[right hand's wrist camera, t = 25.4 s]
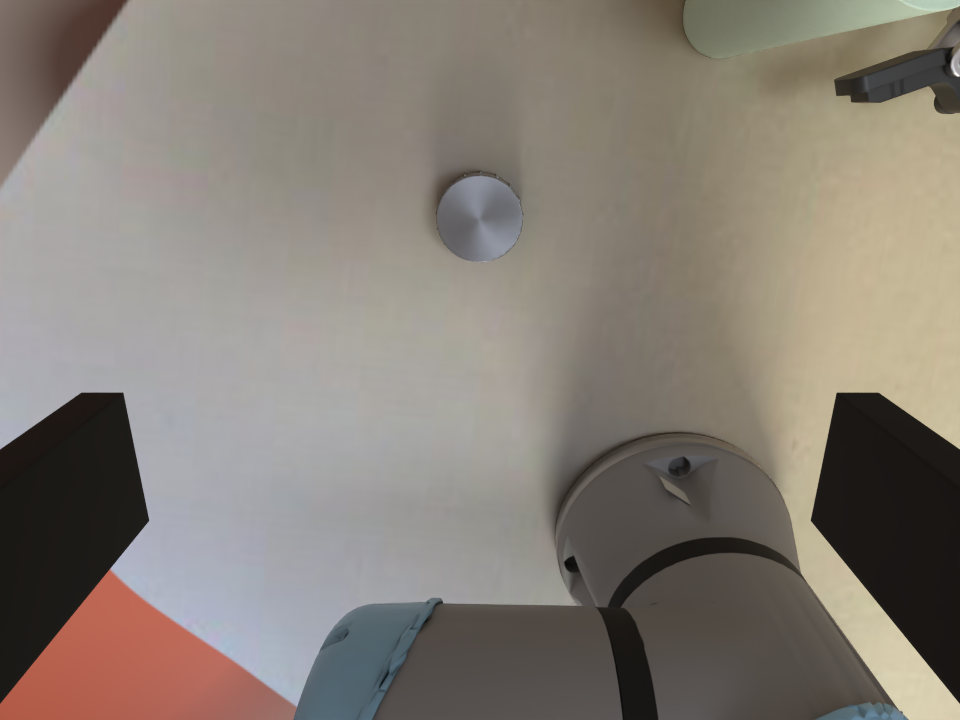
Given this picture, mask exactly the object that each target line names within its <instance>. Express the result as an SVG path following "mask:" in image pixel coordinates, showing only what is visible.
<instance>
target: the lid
mask: <svg viewBox="0 0 960 720" xmlns="http://www.w3.org/2000/svg"><path fill="white" fill-rule="evenodd" d="M440 198H441V200H440V203H439V206H438V209H437V211H436V214H437V230H438V232H439V235H440V237H441V239H442V241H443V242H444V244H445V245H446V246H447V248H448V249H449V250H450V251H451V252H452V253H454V254H455V255H457V256H458V257H460V258H462V259H465V260H467V261H472V262H488V261H492V260H495V259H497V258H499V257H501V256H503V255H504V254H506V253H507V252H508V251H509V250H510V249H511V248H512V247H513V246H514V244H515V243H516V241H517V239H518V238H519V235H520V233H521V229H522V223H523V217H524V215H523V212H522V209H521V205H520V202H519V201H520V198H519V196H517V195H516V194H515V192H514V190H513V189H512V188H511V184H510V183H507V182H505V181H504V180H503V179H501V178H499V177H498V175H497V174H495V175H493V174H489V173H484V172H482V171H480V172H475V173H470V174H466V173H465V174H464V176H462V177H460V178H458V179H457V180H455V181H454V182H453V181H452V182H451V183H450V186H449V187H448V188H447V189H446V191H445V192H444V194H442V195H441V197H440Z"/></svg>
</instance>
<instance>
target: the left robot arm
mask: <svg viewBox="0 0 960 720" xmlns="http://www.w3.org/2000/svg"><path fill="white" fill-rule="evenodd" d="M947 21H948V23H947V25H946V26H945V28H944V29H943V30H942V31H941V32H940V34H939V35H938V36H937V37H936V39H935V40H934V41H933V42H932V43H931V45H930V46H929V47H928V48H927V50H922V51H914V52H910V53H907V54H905V55H902V56H899V57H896V58H893V59H890V60H888V61H885V62H882V63H879V64H876V65H873V66H871V67H868V68H865V69H862V70H859V71H856V72H854V73H851V74H848V75H845V76H842V77H840V78H837V79H835V80H834V82H835V89H836V96H845V95H850V96H851V102H855V103H881V102H884V101H887V100H889V99H892V98H895V97H898V96H901V95H903V94H907V93H910V92H913V91H915V90H918V89H921V88H924V87H927V86H929V87H931V89H932V90H933V92H934V93H935V95H936V97H935V99H934V107H935V109H936V111H937V112H939V113H941V114H954V113H960V6H959V7H956V8H954V9H953V10H952V11H951V13H950V14H949V16H948V17H947Z"/></svg>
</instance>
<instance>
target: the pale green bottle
mask: <svg viewBox="0 0 960 720" xmlns="http://www.w3.org/2000/svg"><path fill="white" fill-rule="evenodd" d="M959 6H960V0H686V1H685V5H684V10H683V26H684V31H685V34H686V36H687V38H688V40H689V42H690V43H691V45H692V46H693V47H694V48H695V49H696V50H697V51H698V52H700V53H701V54H703V55H705V56H708V57H711V58H718V59H721V58H728V57H733V56H737V55H742V54H746V53H751V52H756V51H760V50H765V49H769V48H774V47H779V46H783V45H788V44H792V43H797V42H802V41H806V40H811V39H815V38H820V37H825V36H829V35H834V34H838V33H843V32H848V31H852V30H857V29H861V28H866V27H870V26H875V25H880V24H884V23H889V22H893V21H898V20H903V19H907V18H912V17H916V16H921V15H926V14H930V13H935V12H939V11H944V10H948V9H953V8H956V7H959Z"/></svg>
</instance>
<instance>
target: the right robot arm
mask: <svg viewBox="0 0 960 720" xmlns="http://www.w3.org/2000/svg"><path fill="white" fill-rule="evenodd" d="M148 522H149V517H148V512H147V508H146V503H145V498H144V493H143V488H142V483H141V478H140V473H139V468H138V463H137V458H136V453H135V448H134V443H133V439H132V434H131V429H130V424H129V419H128V414H127V409H126V404H125V399H124V394H123V393H80V394H79V395H78V396H76V397H75V398H73V399H72V400H70V401H69V402H68V403H66V404H65V405H63V406H62V407H60V408H59V409H58V410H56V411H55V412H53V413H52V414H50V415H49V416H48V417H46V418H45V419H43V420H42V421H40V422H39V423H37V424H36V425H35V426H33V427H32V428H30V429H29V430H27V431H26V432H25V433H23V434H22V435H20V436H19V437H17V438H16V439H15V440H13V441H12V442H10V443H9V444H7V445H6V446H5V447H3V448H2V449H0V703H1V702H2V701H3V700H4V698H5V697H6V696H7V695H8V693H9V692H10V691H11V690H12V688H13V687H14V686H15V685H16V684H17V682H18V681H19V680H20V679H21V677H22V676H23V675H24V674H25V673H26V671H27V670H28V669H29V668H30V666H31V665H32V664H33V663H34V661H35V660H36V659H37V658H38V657H39V655H40V654H41V653H42V652H43V650H44V649H45V648H46V647H47V645H48V644H49V643H50V642H51V641H52V639H53V638H54V637H55V636H56V634H57V633H58V632H59V631H60V630H61V628H62V627H63V626H64V625H65V623H66V622H67V621H68V620H69V619H70V617H71V616H72V615H73V614H74V612H75V611H76V610H77V609H78V607H79V606H80V605H81V604H82V603H83V601H84V600H85V599H86V598H87V596H88V595H89V594H90V593H91V591H92V590H93V589H94V588H95V587H96V585H97V584H98V583H99V582H100V580H101V579H102V578H103V577H104V576H105V574H106V573H107V572H108V571H109V569H110V568H111V567H112V566H113V564H114V563H115V562H116V561H117V560H118V558H119V557H120V556H121V555H122V553H123V552H124V551H125V550H126V549H127V547H128V546H129V545H130V544H131V542H132V541H133V540H134V539H135V537H136V536H137V535H138V534H139V533H140V531H141V530H142V529H143V528H144V526H145V525H146V524H147V523H148ZM811 522H812V523H813V524H814V525H815V526H816V528H817V529H818V530H819V531H820V533H821V534H822V535H823V536H824V537H825V539H826V540H827V541H828V542H829V544H830V545H831V546H832V547H833V549H834V550H835V551H836V552H837V553H838V555H839V556H840V557H841V558H842V560H843V561H844V562H845V563H846V564H847V566H848V567H849V568H850V569H851V571H852V572H853V573H854V574H855V576H856V577H857V578H858V579H859V580H860V582H861V583H862V584H863V585H864V587H865V588H866V589H867V590H868V591H869V593H870V594H871V595H872V596H873V598H874V599H875V600H876V601H877V603H878V604H879V605H880V606H881V607H882V609H883V610H884V611H885V612H886V614H887V615H888V616H889V617H890V619H891V620H892V621H893V622H894V623H895V625H896V626H897V627H898V628H899V630H900V631H901V632H902V633H903V634H904V636H905V637H906V638H907V639H908V641H909V642H910V643H911V644H912V646H913V647H914V648H915V649H916V650H917V652H918V653H919V654H920V655H921V657H922V658H923V659H924V660H925V661H926V663H927V664H928V665H929V666H930V668H931V669H932V670H933V671H934V673H935V674H936V675H937V676H938V677H939V679H940V680H941V681H942V682H943V684H944V685H945V686H946V687H947V688H948V690H949V691H950V692H951V693H952V695H953V696H954V697H955V698H956V700H957V701H958V702H959V703H960V449H958V448H957V447H955V446H954V445H953V444H951V443H950V442H948V441H947V440H945V439H944V438H943V437H941V436H940V435H938V434H937V433H935V432H934V431H933V430H931V429H930V428H928V427H927V426H925V425H924V424H923V423H921V422H920V421H918V420H917V419H915V418H914V417H912V416H911V415H910V414H908V413H907V412H905V411H904V410H902V409H901V408H900V407H898V406H897V405H895V404H894V403H892V402H891V401H890V400H888V399H887V398H885V397H884V396H882V395H881V394H880V393H837V394H836V399H835V404H834V409H833V414H832V419H831V424H830V429H829V434H828V439H827V443H826V448H825V453H824V458H823V463H822V468H821V473H820V478H819V483H818V488H817V493H816V498H815V503H814V508H813V512H812V517H811ZM555 544H556V552H557V558H558V563H559V568H560V572H561V575H562V578H563V581H564V583H565V585H566V587H567V589H568V591H569V593H570V595H571V597H572V599H573V600H574V602H575V603H576V605H577V606H549V605H489V604H443V601H442V599H441V598H431V599H430V600H428V601H427V602H418V603H388V604H370V605H365V606H361V607H358V608H356V609H354V610H352V611H351V612H349V613H348V614H346V615H345V616H344V617H343V618H342V619H341V620H340V621H339V622H338V623H337V624H336V625H335V626H334V628H333V629H332V631H331V632H330V633H329V635H328V636H327V638H326V640H325V642H324V643H323V645H322V647H321V649H320V651H319V654H318V655H317V657H316V660H315V662H314V664H313V666H312V669H311V671H310V674H309V676H308V679H307V681H306V684H305V687H304V689H303V692H302V695H301V698H300V701H299V704H298V707H297V710H296V713H295V716H294V720H909V719H907V718H906V717H905V716H904V715H903V712H902V711H899V710H898V708H897V707H896V706H895V704H894V703H893V701H892V700H891V699H890V697H889V696H888V694H887V693H886V692H885V690H884V689H883V687H882V686H881V685H880V683H879V682H878V681H877V679H876V678H875V676H874V675H873V674H872V672H871V671H870V669H869V668H868V667H867V665H866V664H865V662H864V661H863V660H862V658H861V657H860V655H859V654H858V653H857V651H856V650H855V649H854V647H853V646H852V644H851V643H850V642H849V640H848V639H847V637H846V636H845V635H844V633H843V632H842V630H841V629H840V628H839V626H838V625H837V623H836V622H835V621H834V619H833V618H832V617H831V615H830V614H829V612H828V611H827V610H826V608H825V607H824V605H823V604H822V603H821V601H820V600H819V598H818V597H817V596H816V594H815V593H814V591H813V590H812V589H811V587H810V586H809V585H808V583H807V582H806V580H805V579H804V577H803V576H802V574H801V572H800V566H799V561H798V555H797V550H796V545H795V539H794V534H793V529H792V523H791V519H790V515H789V512H788V509H787V507H786V505H785V502H784V500H783V498H782V496H781V493H780V492H779V490H778V489H777V487H776V485H775V484H774V483H773V481H772V480H771V479H770V478H769V476H768V475H767V474H766V473H765V471H764V470H763V469H762V468H761V467H760V465H759V464H758V463H757V462H756V461H754V460H753V459H752V458H751V457H750V456H748V455H747V454H746V453H745V452H743V451H741V450H740V449H738V448H736V447H735V446H733V445H730V444H728V443H726V442H724V441H721V440H718V439H715V438H711V437H707V436H702V435H696V434H683V433H677V434H663V435H656V436H651V437H646V438H643V439H639V440H636V441H633V442H630V443H628V444H625V445H623V446H621V447H619V448H617V449H615V450H613V451H611V452H610V453H608V454H606V455H605V456H603V457H602V458H600V459H599V460H598V461H596V462H595V463H594V464H593V465H591V466H590V467H589V468H588V469H587V470H586V471H585V472H584V473H583V474H582V475H581V476H580V477H579V478H578V480H577V481H576V482H575V484H574V485H573V486H572V488H571V489H570V491H569V492H568V494H567V496H566V498H565V500H564V502H563V504H562V506H561V509H560V512H559V515H558V519H557V523H556V532H555Z"/></svg>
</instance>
